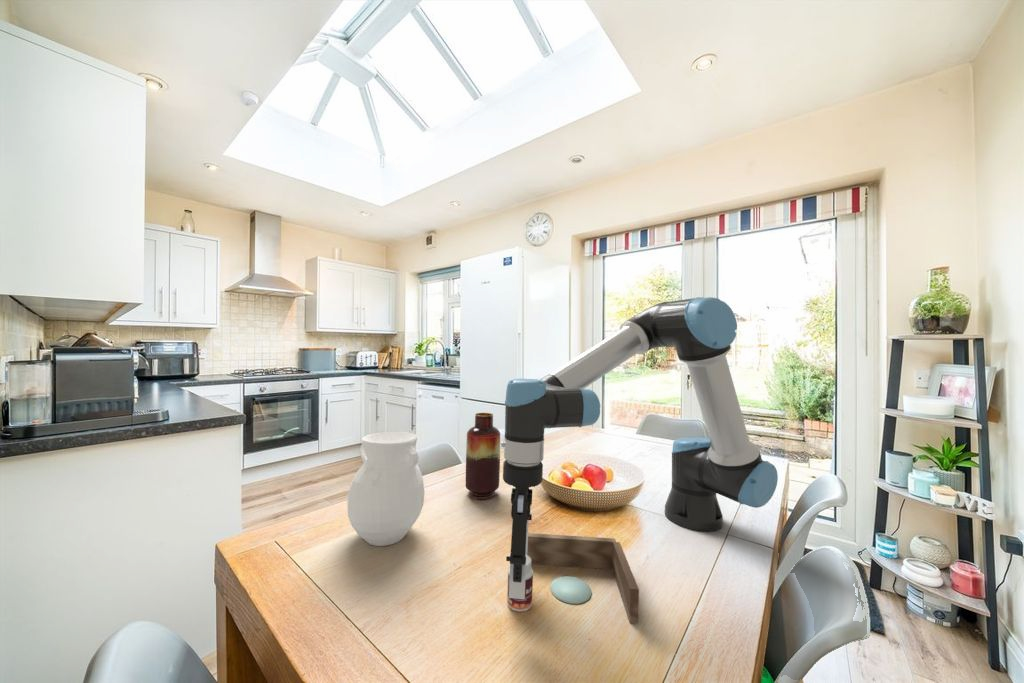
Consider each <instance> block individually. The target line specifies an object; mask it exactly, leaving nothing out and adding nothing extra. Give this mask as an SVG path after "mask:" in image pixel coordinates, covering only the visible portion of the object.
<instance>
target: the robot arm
mask: <svg viewBox="0 0 1024 683" xmlns="http://www.w3.org/2000/svg"><path fill="white" fill-rule="evenodd" d="M737 323H738V322H737V318H736V315H735V314H734V311H733V309H732V308H731V307H730V306H729V304H727V302H726V301H724V300H721V299H720V298H717V297H701V296H699V297H694V298H686V299H680V300H673V301H663V302H660V303H657V304H654V305H651V306H649V307H647V308H646V309H644V310H642V311H641V312H638V313H637V314H636V315H634V316H633V317H630V318H629V319H627V320H625V321H624V322H623V323H622V324H620V327H619V330H617V331H616V332H614V333H612V334H611V335H609V336H608V337H606V338H605V339H603V340H601V341H599V342H598V343H597V344H595V345H593V346H592V347H591V348H589V349H586V351H584V352H582V353H581V354H579V355H577V356H576V357H574V358H573V359H571V360H570V361H568V362H566V363H565V364H563V365H561V366H560V367H558V368H557V369H555V370H553V371H552V372H550V373H549V374H547V375H545V376H543V377H542V378H540V379H538V378H536V379H535V378H512V379H511V380H509V381H508V383H507V384H506V385H507V386H506V391H505V401H504V405H505V409H504V410H505V413H504V414H505V416H504V420H505V421H504V441H501V442H500V447H501V448H504V450H503V458H504V459H505V460H504V461H503V464H502V468H503V469H502V480H503V482H504V483H505V484H507V485H509V486H512V487H513V488H511V494H510V503H511V511H510V517H511V519H512V523H511V524H512V525H511V539H510V540H511V544H510V554H509V555H510V556H506V560H505V561H506V562H509V568H510V578H509V598H515V599H525V577H526V556H525V555H527V550H528V533H529V521H532V517H533V516H532V514H531V507H532V504H533V489H531V488H532V487H533V488H534V487H537V486H539V485H541V483H543V482H542V481H543V470H544V465H543V463H542V462H543V460H544V455H545V454H544V453H545V452H544V451H545V450H544V449H545V429H557V428H575V427H576V428H583V427H588V426H592V425H594V424H596V423H597V421H598V420H599V418H600V415H601V403H600V401H601V400H600V398H599V396H598V395H597V393H596V392H594V391H593V390H591V389H589V388H588V389H587V387H589V386H590V385H592V384H593V383H594V382H597V381H598V380H600V379H601V378H602V377H604V376H605V375H607V374H608V373H610V372H611V371H613V370H614V369H616V368H618V367H619V366H620V365H622V364H623V363H625V362H627V361H628V360H629V359H630V358H632V357H634V356H636V355H644V354H646V353H647V352H648V351H650V350H652V349H657V348H666V347H668V348H675V351H676V354H677V355H676V356H677V358H678V360H679V361H680V362H683V363H685V364H686V365H687V367H688V368H687V369H688V371H689V375H690V378H691V382H692V384H693V388H694V392H695V395H696V399H697V402H698V404H699V409H700V412H701V415H702V419H703V422H704V425H705V428H706V432H707V435H708V438H707V437H679V438H676V439H674V441H673V443H672V450H671V489H670V491H669V493H668V496H667V499H666V501H665V504H664V515H665V518H667V519H668V520H669V521H671V522H672V523H674V524H675V525H678V526H681V527H682V528H687V529H690V530H695V531H701V532H714V531H715V532H716V531H718V530H721V529H722V528H723V525H724V516H723V513H722V512H723V511H722V509H721V506H720V504H719V500H718V497H717V494H718V495H720V496H723V497H725V498H728V499H729V500H732V501H733V502H737V503H739V505H745V506H748V507H751V508H761V507H763V506H766V504H768V503H769V501H770V500H771V499H772V498H773V496H774V494H775V491H776V489H777V485H778V481H779V480H778V478H779V476H778V475H779V474H778V470H777V467H776V466H775V465H774V464H773V463H771V462H769V461H768V460H763V459H762V456H761V455H762V454H761V452H760V448H759V447H758V445H756V444H755V443H754V442H751V441H750V439H749V435H748V431H747V427H746V424H745V420H744V417H743V413H742V410H741V406H740V403H739V399H738V396H737V392H736V388H735V385H734V381H733V377H732V372H731V369H730V367H729V363H728V360H727V354H729V352H730V351H731V348H732V347H731V345H732V343H733V342H734V341H735V339H736V338H737V332H736V331H737V330H738V324H737Z"/></svg>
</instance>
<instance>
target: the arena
mask: <svg viewBox="0 0 1024 683" xmlns="http://www.w3.org/2000/svg"><path fill="white" fill-rule="evenodd" d="M527 555H528V556H529V557H530V558H531V565H534V564H535V565H545V566H546V565H548V566H560V567H561V566H562V567H577V568H578V567H579V568H591V569H604V570H606V569H607V570H612V573H613V576H614V578H615V582H616V585H617V587H618V588H617V589H618V590H619V594H620V598H621V601H622V603H623V607H624V610H625V612H626V615H627V619H628V622H629V623H630V624H639V605H640V604H639V602H640V601H639V600H640V596H639V595H640V588H639V586H638V584H637V582H636V578H635V576H634V574H633V571H632V569H631V567H630V564H629V561H628V559H627V557H626V554H625V552H624V549H623V547H622V544H621V542H619V541H617V540H616V538H612V537H611V538H610V537H599V536H598V537H596V536H581V535H566V534H548V533H533V532H528V550H527Z"/></svg>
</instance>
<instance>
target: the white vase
mask: <svg viewBox="0 0 1024 683" xmlns="http://www.w3.org/2000/svg"><path fill="white" fill-rule="evenodd" d="M417 440H418V437H417V435H416V434H415V433H414V432H410V431H403V430H390V431H389V430H388V431H387V430H386V431H378V432H373V433H369V434H366V435H364V436H363V437H362V438H361V440H360V441H361V445H360V447H359V449H358V450H359V451H358V452H359V454H360V459H361V461H362V465H361V466H360V467H359V468H358V469H357V472H355V474H354V476H353V478H352V481H351V483H350V485H349V488H348V494H347V517H348V521H349V522H350V525H351V527H352V528H353V530H354V531H355V532H356V534H357V535H359V536H360V537H361V538H362V539H363V540H364V541H365V542H367V544H369V545H372V546H376V547H384V546H385V547H387V546H390V545H394V544H396V543H399V542H400V541H402V539H404V537H405V536H406V535H407V534H408V533H409V532H410V530H411V529H412V527H413V526H414V524H415V523H416V522H417V520H418V519H419V517H420V515H421V513H422V509H423V507H424V503H425V502H424V501H425V485H424V484H425V483H424V477H423V475H422V472H421V469H420V468H419V466H418V463H419V452H418V451H417V449H416V448H415V446H416V444H417Z"/></svg>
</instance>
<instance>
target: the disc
mask: <svg viewBox="0 0 1024 683" xmlns="http://www.w3.org/2000/svg"><path fill="white" fill-rule="evenodd" d="M550 591H551V594H552V596H554V598H556V599H557V600H559V601H560V602H563V603H566V604H568V605H580V604H583V603H586V602H587V601H589V599H590V598H591V597H592V589H591V587H590V586H589V584H588V583H587V582H586V581H584V580H583V579H581V578H579V577H575V576H569V575H568V576H567V575H566V576H560V577H557V578H555V579H554V580H553V581H552V582H551V585H550Z"/></svg>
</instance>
